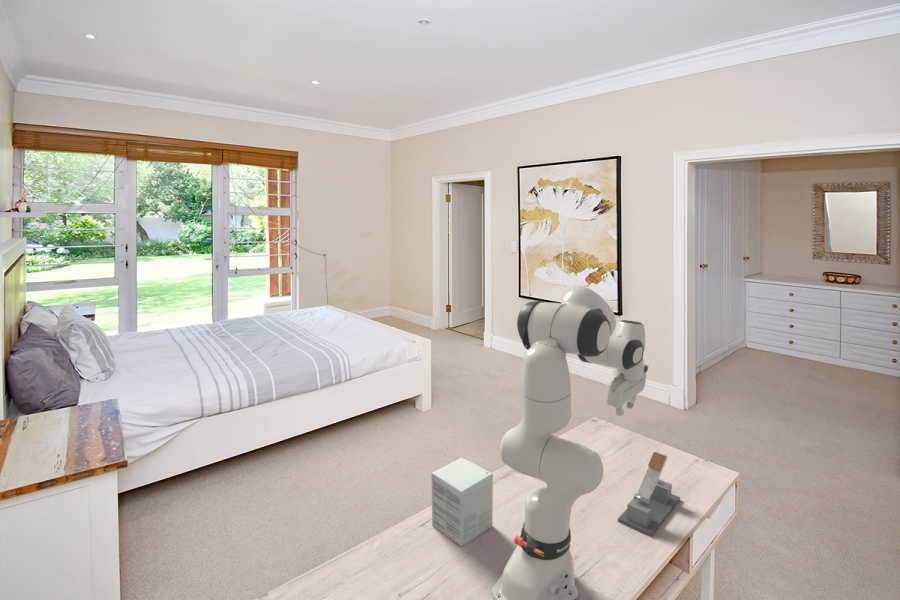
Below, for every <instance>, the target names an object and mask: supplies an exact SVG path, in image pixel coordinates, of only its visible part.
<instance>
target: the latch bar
mask: <svg viewBox="0 0 900 600" xmlns="http://www.w3.org/2000/svg"><path fill="white" fill-rule="evenodd" d="M667 461H668V456H667V455H665V454H662V453H659V452H656V451H653V453H652V455H651V458H650V460H649V463H648V464H647V466H648V468H647V470H646V472H645V475H644V476H643V479H642V482H641V484H640V486H639V488H638V490H637V493H635V494H634V496H633V498H634V499H635V500H638V501H640V502H642V503H645V504H647V505H650V503H651V500H650V499H651V496H652V494H653V491H654V489H655V487H656V484H657V482H658V479H660V477H661V474H662V472H663V470H664V468H665V465H666V463H667Z"/></svg>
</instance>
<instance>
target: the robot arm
mask: <svg viewBox="0 0 900 600" xmlns="http://www.w3.org/2000/svg"><path fill="white" fill-rule="evenodd" d="M616 326H617V327H616ZM516 328H517V332H518V336H519V338H520V341H521V342H522V344H523V347H524V349H526V352H525V354H524V357H523V363H522V371H521V373H522V374H521V390H522V391H521V392H522V416H521V420H520V422H519V423H518V424H517V425H516V426H514V427H511V428H510V429H509V430H507V431H506V433H505V434H504V435H503V436H502V438H501V441H500V444H499V454H500V457H501V461H502V463H503V464H504V465H506V466H507V467H510V468H511V469H512V470H514V471H516V472H518V473H520V474H521V475H525V476H528V477H530V478H533V479H536V480H539V481H542V482H544V483H545V484H546V485H541V486H539V487H536V488H535V489H532V490H531V491H530V492H529V493H528V494H527V496H526V498H525V503H524V521H523V524H522V528H521V531H520V532H521V533H520V536H519V535H518V534H517V535H515V536H514V537H513V543H514V544H515V545H516V547H515V548H514V550H513V552H512V554H511V555H510V557H509V560H508V561H507V563H506V565H505V566H504V568H503V571H502V574H501V575H500V576H499V578H498V580H497V581H496V582H495V583H494V584H493V587H492V589H491V592H492V593H491V595H493V596H492V598H493V597H494V598H495V599H496V600H575V599H577V598H578V597H579V590H578V587H577V586H576V583H575V567H574V565H575V562H574V560H573V558H572V553H571V551H570V547H571V543H572V542H571V541H572V535H571V528H570V521H571V520H570V519H571V513H572V508H573V505H574V503H575V502H576V501H577V499H579V498H580V497H582V496H584V495H587V494H590V493H592V492H593V491H595V490H596V489H597V488H598V487H599V486H600V484H601V483H602V480H603V478H604V465H603V461H602V458H601V456H600V454H599V453H598V452H597V451H595V450H593V449H591V448H589V447H587V446H586V445H583V444H581V443H579V442H575V441H571V440H568V439H564V438H561V437H558V436H555V435H553V434H555V433H556V434H557V433H558V432H560V431H562V430H563V429H565V428H566V427H567V426H568V425H569V423H570V421H571V419H572V390H571V389H572V386H571V376H570V370H569V369H570V368H569V365H568V361H567V354H572V355H577V357H578V359H579V360H580V361H581V362H582V363H588V364H596V365H599V366H600V365H601V366H605V367H608V368H613V369H612V375H613V376H614V377H613V380H611V381H610V383H609V385H608V390H607V395H606V403H607V405H608V406H610V407H613V408H615V411H616V412H615V414H616V416H619V417H621V416H623V415H624V413H625V411H624V409H623V406H624V404H626V408H629V409H633V408H634V407H635V403H636V399H637V395H638V394H640V393H641V392H643V391H644V389H645V386H646V381H647V372H648V371H649V365H648V364H645V361H644V352H645V350H646V329H645V324H643V323H642V322H640V321H636V320H635V321H634V320H626V319H621V320H619V321H618V323H617V319H616V315H615V313H614V311H613V309H612V307H610V305H609V304H608V302H607V301H606V300H605V299H604V298H603V297H602V296H601V295H599V294H598V293H597V292H596V291H595V290H592V289H591V288H589V287H585V286H578V287H574V288H572V289H570V290H569V291H568V292H566V293H565V295H564V296H563V298H562V300H561V303H560V302H549V301H548V302H546V301H545V302H544V300H535V301H529V302H527V303H525V304H524V305H523V306H522V308H521V309H520V311H519V313H518V315H517V321H516ZM614 331H615V334H614ZM498 597H501V598H498ZM494 598H493V599H494ZM495 599H494V600H495Z"/></svg>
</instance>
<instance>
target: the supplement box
mask: <svg viewBox="0 0 900 600" xmlns="http://www.w3.org/2000/svg"><path fill="white" fill-rule="evenodd" d="M493 484H494V475H493V473H492V472H491V471H488V470H486V469H485V468H483V467H482V466H479V465H477V464H476V463H474V462H472V461H470V460H468V459H466V458H465V457H460V458H457V459H456V460H454V461H453V462H450V463H449V464H447V465H445V466H442V467H441V468H439V469H437V470H435V471H432V472H431V516H432V517H431V524H432V526H433V527H434V528H435V529H437V530H438V531H439V532H440V533H441V534H443V533H444V536H446V537H448V538H449V539H450V538H451V539H450V540H452V541H453V540H454V541H455V542H454V541H453V542H454V543H456V544H457V543H458V544H459V545H458V544H457V545H458V546H460V547H463V545H464V546H465V545H467V543H470V542H471V541H472V540H474V539H475V538H476V537H478V536H480V535H481V534H482V533H484V532H485V531H486V530H488V529H490V528H491V527H492V526H493V507H494V506H493V502H494V501H493V500H494V499H493V496H494V495H493V494H494V493H493V491H494V489H493V488H494V485H493ZM479 534H480V535H479Z"/></svg>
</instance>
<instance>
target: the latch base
mask: <svg viewBox="0 0 900 600" xmlns="http://www.w3.org/2000/svg"><path fill="white" fill-rule="evenodd" d="M672 488H673V484H672V483H670V482H667V481H665V480H662V479H660V478H659V479H658V482H657V484H656V487H655V489H654V491H653V494H652V496H651V499H650V500H651V503H650V505H647V504H645V503H642V502H640V501H638V500H635V499H634V497H633V498H632V499H631V500H629V502H628V503H627V508H626V509H625V510H624V512H623V513H621V515H620V516H619V517H618V518H617V522H619V523H620V524H622V525H624V526H627V527H629V528H631V529H633V530H635V531H637V532H640V533H641V534H644V535H646V536H648V537H652V536H654V534H655V533H656V532H657V530H658V529H659V528H660V526H661V525H662V524H663V523H664V521H666V519H667V517H669V515H670V514H671V513H672V511H673V510H674V509H675V507H676V506H677V505H678V504H679V502H680V501H681V497H680V496H677V495H676V494H673V493H672V490H673V489H672Z"/></svg>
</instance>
